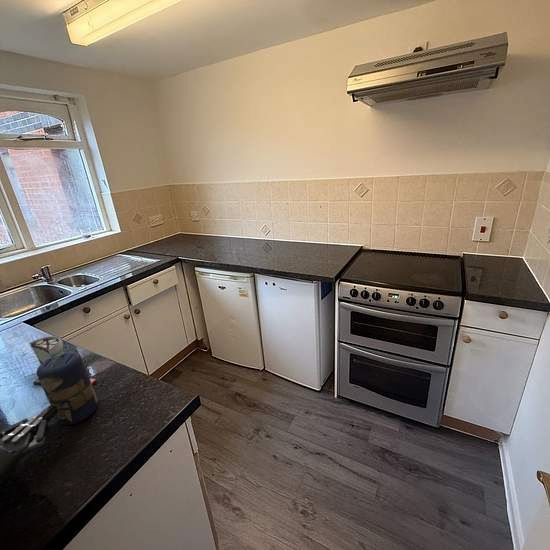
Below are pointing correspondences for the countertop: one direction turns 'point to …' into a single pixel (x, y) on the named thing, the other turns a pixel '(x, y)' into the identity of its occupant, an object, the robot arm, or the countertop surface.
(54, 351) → the food container
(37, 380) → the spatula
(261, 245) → the countertop surface
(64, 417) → the canister
